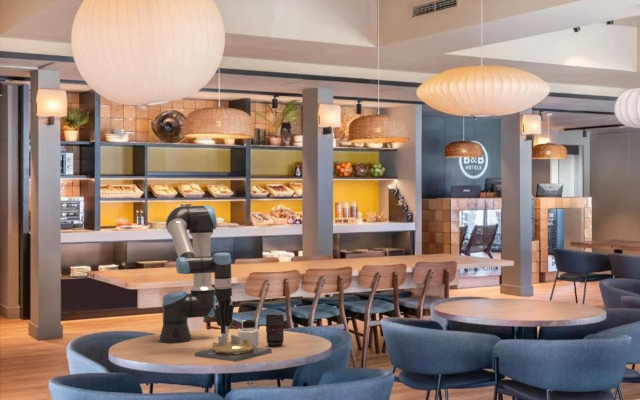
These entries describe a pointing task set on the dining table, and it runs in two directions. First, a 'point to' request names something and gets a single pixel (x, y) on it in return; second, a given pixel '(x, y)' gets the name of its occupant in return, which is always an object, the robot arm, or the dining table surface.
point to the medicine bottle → (249, 332)
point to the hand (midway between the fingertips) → (225, 340)
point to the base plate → (233, 357)
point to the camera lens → (274, 329)
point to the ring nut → (232, 346)
